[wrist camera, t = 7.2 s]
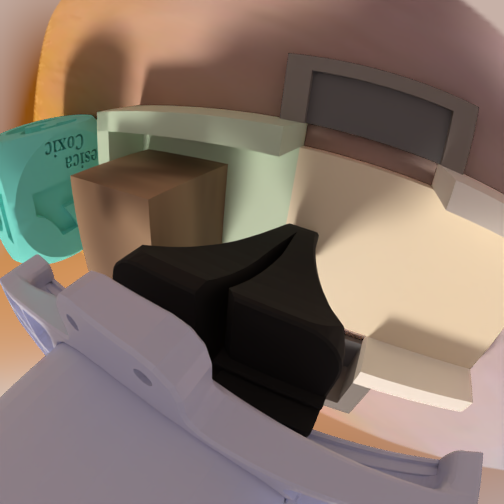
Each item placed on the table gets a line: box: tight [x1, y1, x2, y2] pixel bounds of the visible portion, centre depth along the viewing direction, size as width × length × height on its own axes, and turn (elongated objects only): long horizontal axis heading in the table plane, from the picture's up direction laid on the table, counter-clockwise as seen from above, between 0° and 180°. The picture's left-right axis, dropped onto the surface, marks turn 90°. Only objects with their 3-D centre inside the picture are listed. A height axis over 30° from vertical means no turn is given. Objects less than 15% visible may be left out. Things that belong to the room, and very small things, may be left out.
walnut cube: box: [70, 149, 228, 279], centre depth 12 cm, size 5×5×5 cm
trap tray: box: [97, 53, 504, 413], centre depth 11 cm, size 22×16×3 cm
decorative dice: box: [0, 114, 99, 264], centre depth 14 cm, size 8×8×8 cm
